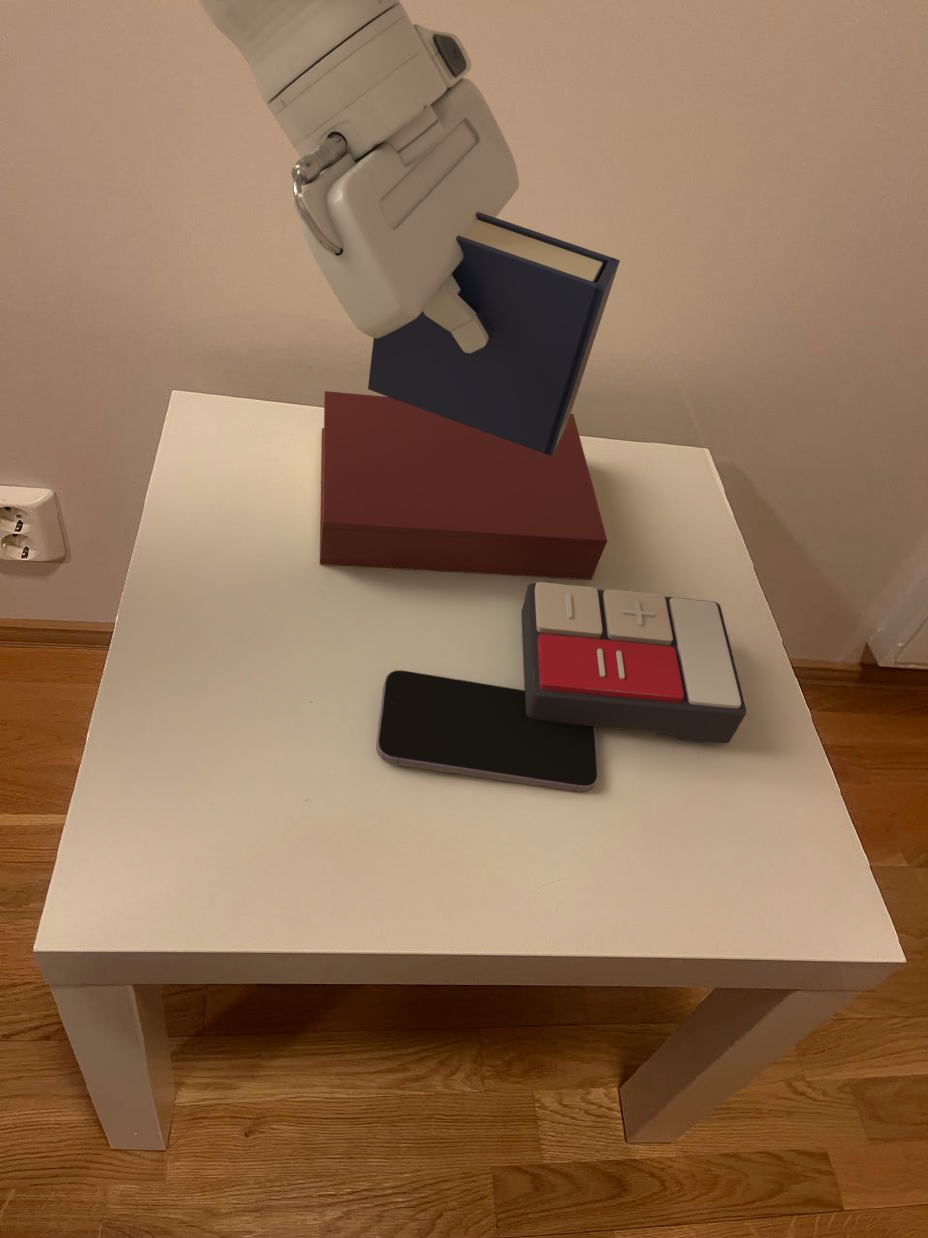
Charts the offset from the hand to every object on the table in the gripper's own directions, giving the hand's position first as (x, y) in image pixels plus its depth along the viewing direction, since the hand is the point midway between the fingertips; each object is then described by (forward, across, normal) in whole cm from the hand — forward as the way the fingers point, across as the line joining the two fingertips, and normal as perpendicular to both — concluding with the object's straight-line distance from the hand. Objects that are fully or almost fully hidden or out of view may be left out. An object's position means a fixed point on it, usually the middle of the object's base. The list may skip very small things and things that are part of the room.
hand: (494, 323), depth 57 cm
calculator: (+26, -5, +4) cm, 27 cm away
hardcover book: (+4, 0, +5) cm, 7 cm away
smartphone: (+21, -14, +9) cm, 27 cm away
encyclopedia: (+14, +7, +16) cm, 23 cm away
